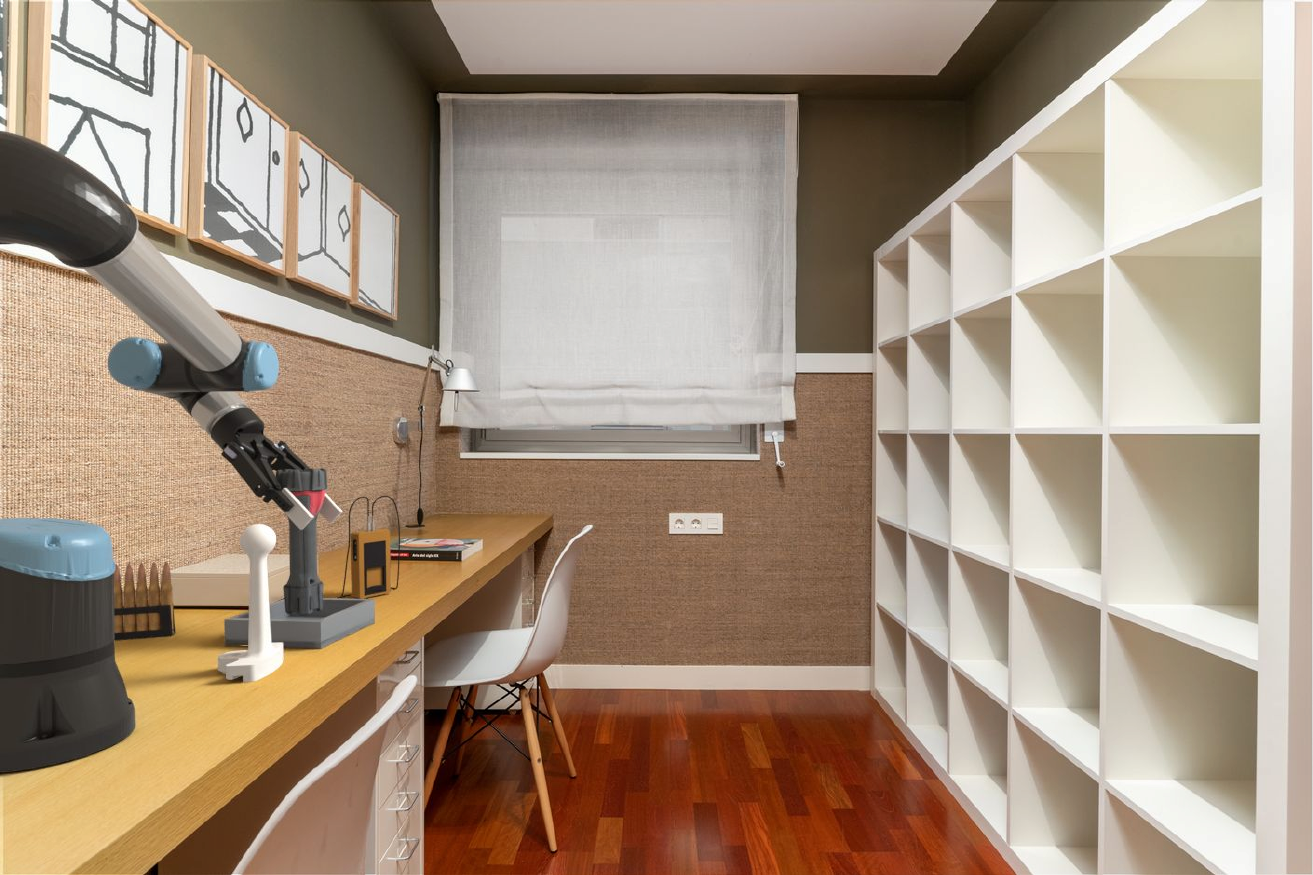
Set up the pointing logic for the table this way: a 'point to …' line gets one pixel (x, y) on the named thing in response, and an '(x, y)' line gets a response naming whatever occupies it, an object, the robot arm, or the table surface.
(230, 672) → the joystick
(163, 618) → the ammunition clip
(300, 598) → the flashlight
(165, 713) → the table surface
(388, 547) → the multimeter
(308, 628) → the tray
